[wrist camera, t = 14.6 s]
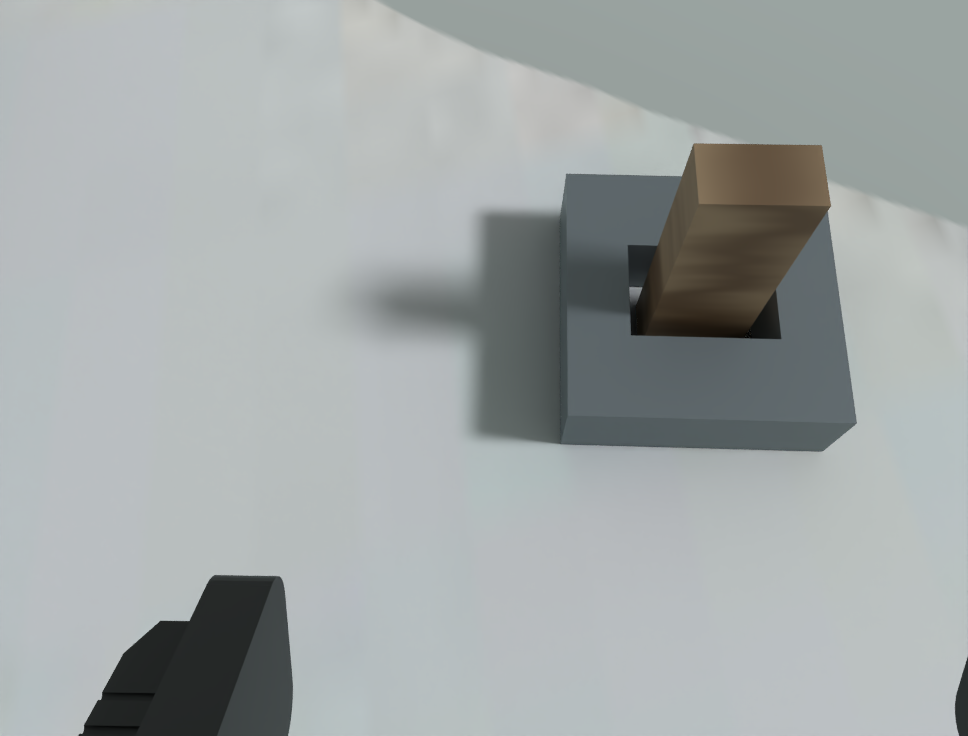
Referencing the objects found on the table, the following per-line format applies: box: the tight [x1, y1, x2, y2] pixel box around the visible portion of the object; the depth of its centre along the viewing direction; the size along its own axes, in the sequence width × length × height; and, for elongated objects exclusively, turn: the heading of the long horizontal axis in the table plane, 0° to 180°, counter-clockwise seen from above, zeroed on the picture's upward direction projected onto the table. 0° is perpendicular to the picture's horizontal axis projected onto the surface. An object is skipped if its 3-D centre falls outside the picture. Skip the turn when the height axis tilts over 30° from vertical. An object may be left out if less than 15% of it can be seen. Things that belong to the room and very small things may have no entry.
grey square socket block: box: [560, 174, 857, 451], centre depth 41 cm, size 12×12×4 cm
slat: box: [636, 144, 831, 338], centre depth 36 cm, size 4×2×13 cm, turn 89°
